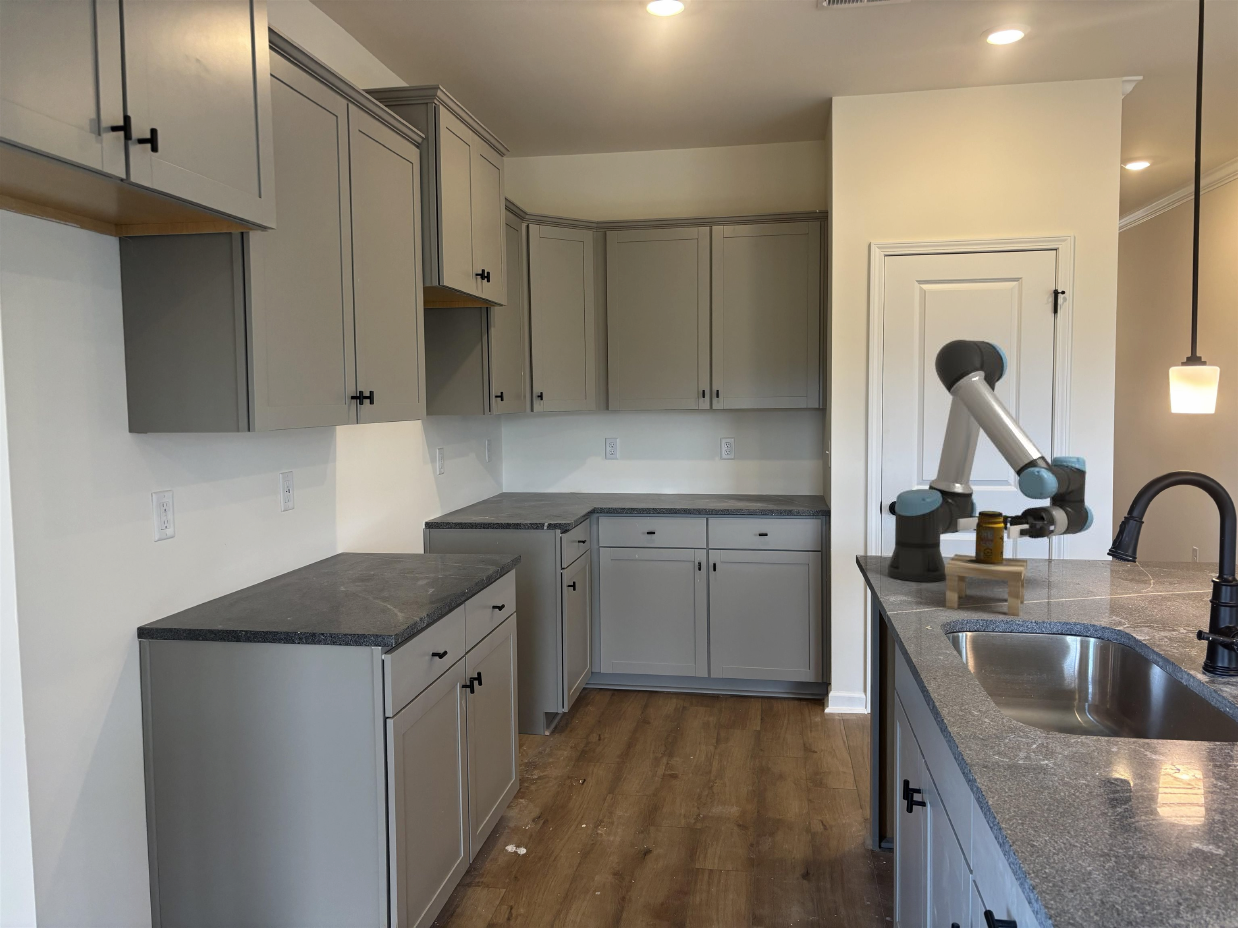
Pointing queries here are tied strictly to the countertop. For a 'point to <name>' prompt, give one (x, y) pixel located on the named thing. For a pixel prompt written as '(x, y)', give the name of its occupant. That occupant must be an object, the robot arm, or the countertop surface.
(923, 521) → the robot arm
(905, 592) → the countertop surface
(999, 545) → the condiment
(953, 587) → the stool
